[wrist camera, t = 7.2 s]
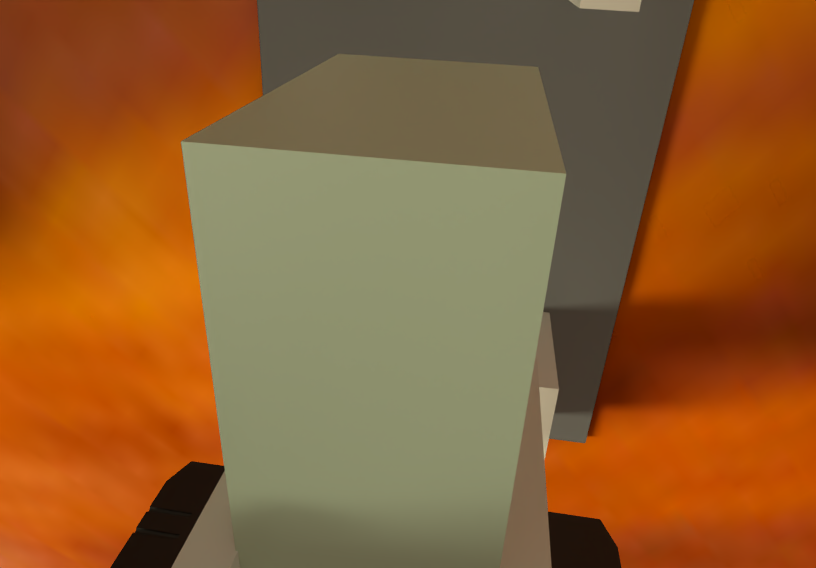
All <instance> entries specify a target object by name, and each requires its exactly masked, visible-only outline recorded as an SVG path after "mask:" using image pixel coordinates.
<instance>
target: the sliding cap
mask: <svg viewBox="0 0 816 568" xmlns="http://www.w3.org/2000/svg"><path fill="white" fill-rule="evenodd" d="M569 1H570V2H572V3H573V4H574V5H576V6H577V7H578V8H583V9H599V10H615V11H631V12H639V10H640V5H641V0H569Z"/></svg>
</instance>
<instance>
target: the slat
mask: <svg viewBox="0 0 816 568" xmlns="http://www.w3.org/2000/svg"><path fill="white" fill-rule="evenodd" d="M181 145H182V153H183V160H184V168H185V175H186V183H187V190H188V198H189V205H190V213H191V220H192V228H193V235H194V243H195V250H196V258H197V265H198V273H199V280H200V288H201V296H202V303H203V311H204V318H205V326H206V333H207V341H208V348H209V356H210V363H211V371H212V378H213V386H214V393H215V401H216V408H217V416H218V423H219V431H220V438H221V446H222V453H223V461H224V468H225V476H226V483H227V491H228V498H229V506H230V513H231V521H232V528H233V536H234V543H235V551H238V556H239V564H240V568H500V564H501V558H502V552H503V546H504V540H505V534H506V528H507V522H508V516H509V510H510V504H511V499H512V493H513V487H514V481H515V475H516V469H517V463H518V457H519V451H520V445H521V439H522V433H523V427H524V422H525V416H526V410H527V404H528V398H529V392H530V386H531V380H532V374H533V368H534V362H535V356H536V350H537V345H538V339H539V333H540V327H541V321H542V315H543V309H544V303H545V297H546V291H547V285H548V279H549V273H550V268H551V262H552V256H553V250H554V244H555V238H556V232H557V226H558V220H559V214H560V208H561V202H562V196H563V191H564V185H565V179H566V171H565V167H564V163H563V159H562V155H561V152H560V148H559V144H558V140H557V137H556V133H555V129H554V125H553V121H552V118H551V114H550V110H549V106H548V102H547V99H546V95H545V91H544V87H543V83H542V80H541V76H540V72H539V68H538V67H532V66H517V65H502V64H487V63H472V62H456V61H441V60H426V59H411V58H396V57H381V56H365V55H350V54H337V55H336V56H334V57H332V58H330V59H328V60H327V61H325V62H323V63H321V64H319V65H318V66H316V67H314V68H312V69H310V70H309V71H307V72H305V73H303V74H301V75H300V76H298V77H296V78H294V79H292V80H291V81H289V82H287V83H285V84H283V85H282V86H280V87H278V88H276V89H274V90H273V91H271V92H269V93H267V94H265V95H264V96H262V97H260V98H258V99H256V100H255V101H253V102H251V103H249V104H247V105H246V106H244V107H242V108H240V109H238V110H237V111H235V112H233V113H231V114H229V115H228V116H226V117H224V118H222V119H220V120H219V121H217V122H215V123H213V124H211V125H210V126H208V127H206V128H204V129H202V130H201V131H199V132H197V133H195V134H193V135H192V136H190V137H188V138H186V139H184V140H183V141H181Z"/></svg>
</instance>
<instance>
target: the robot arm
mask: <svg viewBox="0 0 816 568" xmlns="http://www.w3.org/2000/svg"><path fill="white" fill-rule="evenodd" d="M110 568H240V564H239V556H238V551H235V543H234V536H233V528H232V521H231V513H230V506H229V498H228V491H227V483H226V476H225V468H224V466H220V465H213V464H206V463H200V462H193V461H191V462H190V463H189V464H188V465H186V466H185V467H184V468H182V469H181V470H180V471H179V472H177V473H176V474H175V475H174V476H172V477H171V478H170V479H169V480H167V481H166V483H165V484H164V486H163V487H162V489H161V490H160V492H159V493H158V495H157V497H156V498H155V500H154V501H153V503H152V504H151V506H150V510H149V512H146V513H145V515H144V517H143V518H142V520H141V521H140V523H139V524H138V526H137V527H136V532H135V533H132V535H131V537H130V538H129V540H128V541H127V543H126V544H125V546H124V547H123V549H122V550H121V552H120V553H119V555H118V557H117V558H116V560H115V561H114V563H113V564H112V566H111V567H110ZM500 568H621V563H620V558H619V552H618V547H617V546H616V544H615V543H614V541H613V539H612V538H611V536H610V535H609V533H608V531H607V530H606V528H605V527H604V525H603V523H602V522H601V520H600V519H594V518H587V517H580V516H574V515H567V514H560V513H553V512H548V508H547V494H546V479H545V465H544V450H543V436H542V421H541V406H540V392H539V377H538V363H537V359H535V362H534V368H533V374H532V380H531V386H530V392H529V398H528V404H527V410H526V416H525V422H524V427H523V433H522V439H521V445H520V451H519V457H518V463H517V469H516V475H515V481H514V487H513V493H512V499H511V504H510V510H509V516H508V522H507V528H506V534H505V540H504V546H503V552H502V558H501V564H500Z"/></svg>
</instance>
